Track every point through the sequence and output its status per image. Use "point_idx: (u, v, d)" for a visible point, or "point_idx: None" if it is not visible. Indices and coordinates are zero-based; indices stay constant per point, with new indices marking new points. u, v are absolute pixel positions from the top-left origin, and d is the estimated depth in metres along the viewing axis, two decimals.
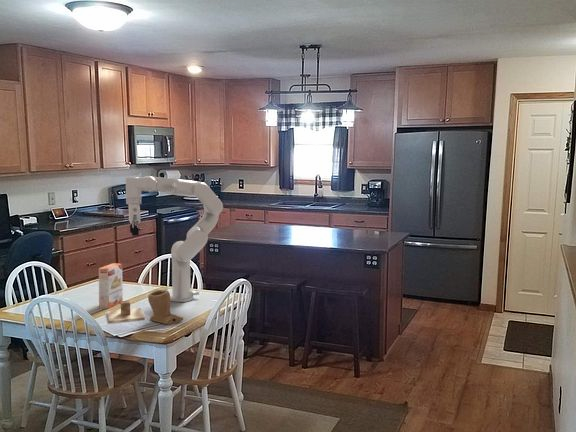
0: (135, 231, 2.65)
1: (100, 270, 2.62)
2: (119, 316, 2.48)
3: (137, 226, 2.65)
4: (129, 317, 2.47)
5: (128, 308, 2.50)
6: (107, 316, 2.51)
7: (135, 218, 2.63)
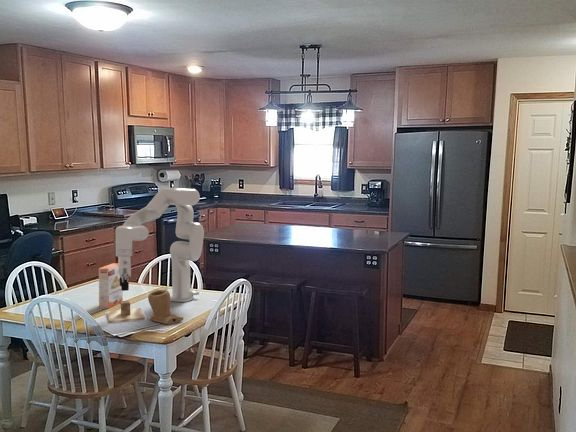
0: (125, 286, 2.44)
1: (100, 270, 2.62)
2: (119, 316, 2.48)
3: (127, 280, 2.44)
4: (129, 317, 2.47)
5: (128, 308, 2.50)
6: (107, 316, 2.51)
7: (125, 272, 2.42)
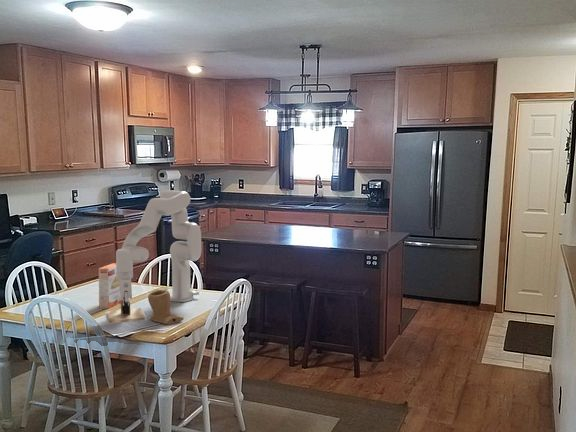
0: (126, 309, 2.48)
1: (100, 270, 2.62)
2: (119, 316, 2.48)
3: (128, 304, 2.48)
4: (129, 317, 2.47)
5: None
6: (107, 316, 2.51)
7: (126, 298, 2.45)
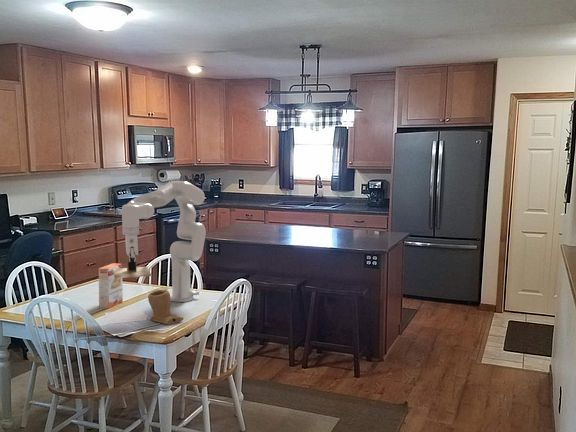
0: (132, 266, 2.44)
1: (100, 270, 2.62)
2: (125, 272, 2.45)
3: (134, 261, 2.44)
4: (135, 273, 2.43)
5: None
6: (107, 316, 2.51)
7: (132, 253, 2.41)
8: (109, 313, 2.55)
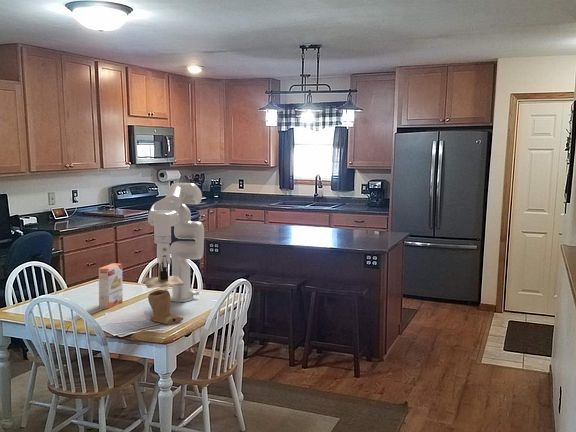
0: (164, 275, 2.40)
1: (100, 270, 2.62)
2: (157, 282, 2.40)
3: (166, 270, 2.40)
4: (167, 283, 2.38)
5: None
6: (107, 316, 2.51)
7: (165, 262, 2.36)
8: (109, 313, 2.55)
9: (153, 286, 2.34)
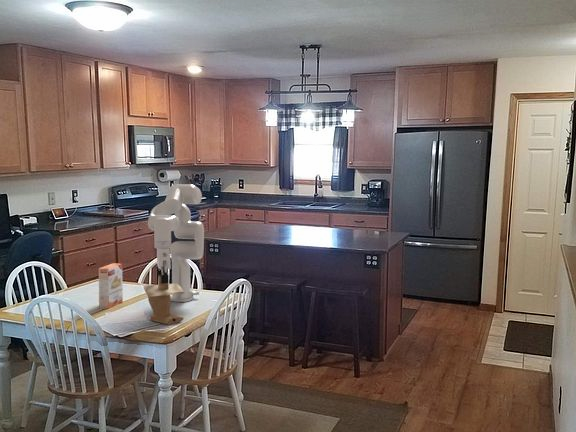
0: (165, 279, 2.38)
1: (100, 270, 2.62)
2: (158, 290, 2.41)
3: (167, 273, 2.38)
4: (168, 291, 2.39)
5: None
6: (107, 316, 2.51)
7: (165, 264, 2.36)
8: (109, 313, 2.55)
9: (153, 295, 2.35)
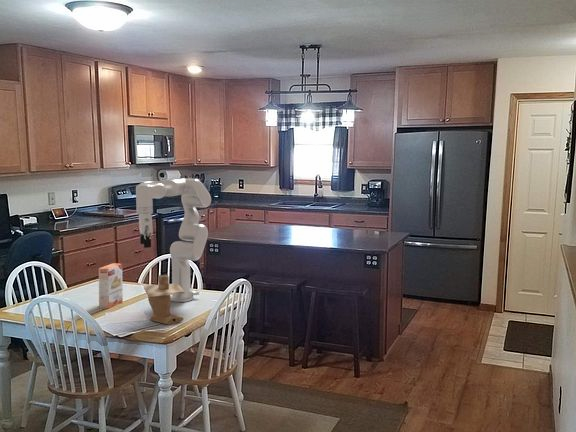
0: (147, 243, 2.47)
1: (100, 270, 2.62)
2: (158, 290, 2.41)
3: (149, 237, 2.47)
4: (168, 291, 2.39)
5: (166, 282, 2.42)
6: (107, 316, 2.51)
7: (147, 229, 2.45)
8: (109, 313, 2.55)
9: (154, 295, 2.35)
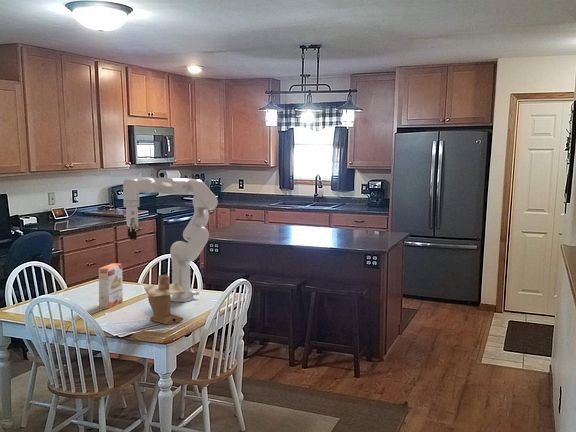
0: (133, 235, 2.56)
1: (100, 270, 2.62)
2: (158, 290, 2.41)
3: (135, 230, 2.55)
4: (169, 291, 2.39)
5: (167, 282, 2.42)
6: (107, 316, 2.51)
7: (133, 221, 2.53)
8: (109, 313, 2.55)
9: (154, 295, 2.35)
